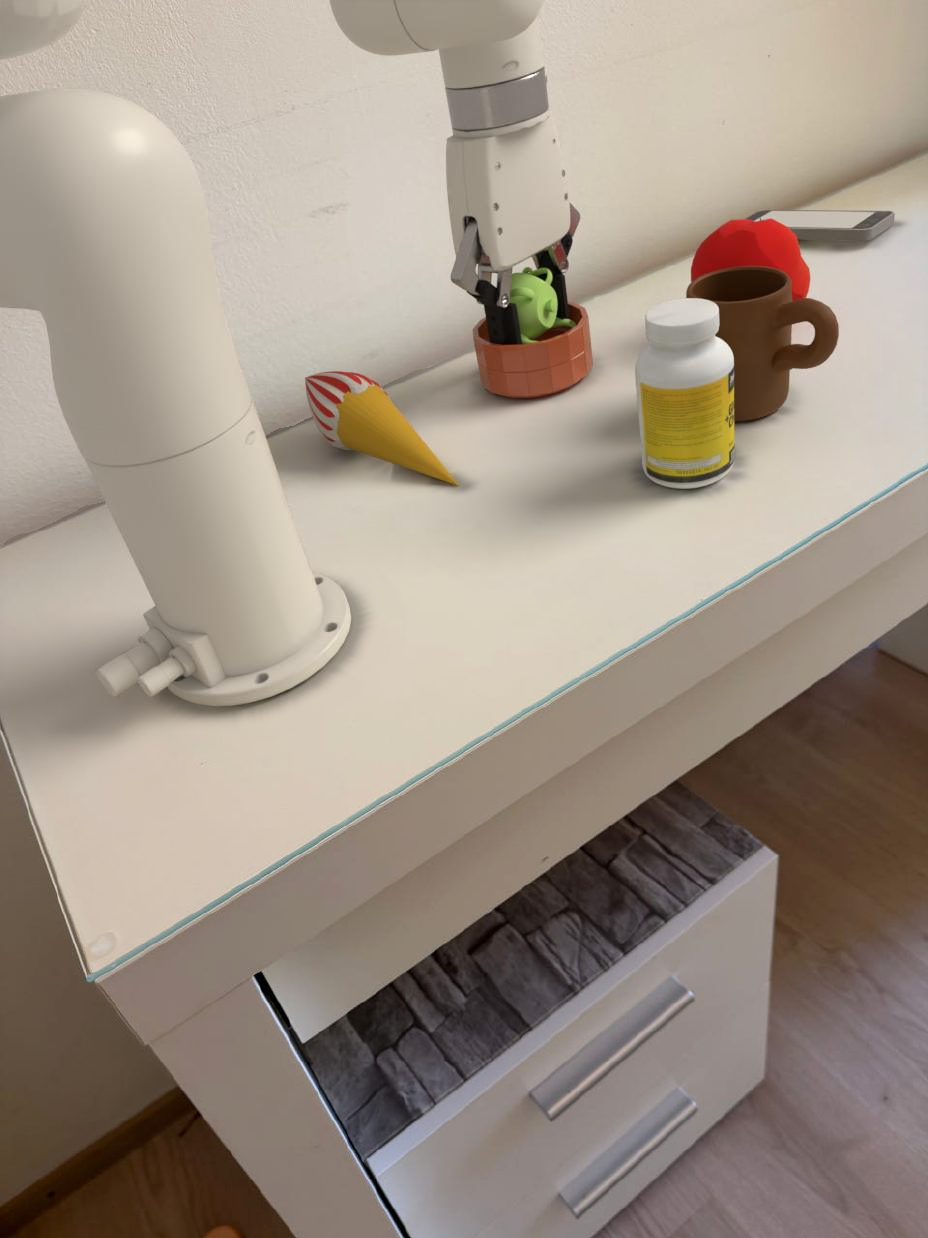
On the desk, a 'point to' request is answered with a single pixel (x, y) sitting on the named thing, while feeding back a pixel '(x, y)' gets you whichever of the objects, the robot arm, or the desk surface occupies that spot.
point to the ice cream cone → (368, 422)
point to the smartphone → (830, 223)
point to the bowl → (536, 359)
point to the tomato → (754, 251)
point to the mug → (764, 333)
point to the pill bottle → (685, 395)
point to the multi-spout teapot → (535, 304)
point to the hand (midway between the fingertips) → (530, 331)
